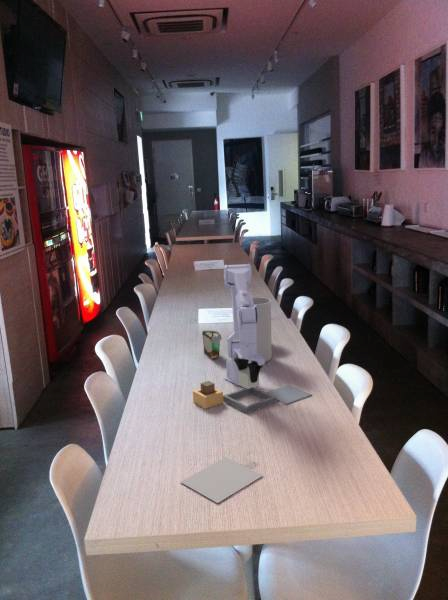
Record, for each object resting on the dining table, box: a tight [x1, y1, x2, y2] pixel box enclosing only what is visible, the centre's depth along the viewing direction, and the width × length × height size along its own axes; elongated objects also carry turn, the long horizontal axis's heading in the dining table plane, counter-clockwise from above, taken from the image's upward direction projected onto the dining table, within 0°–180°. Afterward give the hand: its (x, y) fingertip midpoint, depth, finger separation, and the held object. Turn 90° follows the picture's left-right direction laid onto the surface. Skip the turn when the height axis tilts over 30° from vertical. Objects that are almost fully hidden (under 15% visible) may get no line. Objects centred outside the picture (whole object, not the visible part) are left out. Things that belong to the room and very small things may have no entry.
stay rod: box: [200, 380, 216, 395], centre depth 193 cm, size 3×3×7 cm
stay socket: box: [192, 387, 224, 409], centre depth 193 cm, size 7×7×4 cm
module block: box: [238, 368, 260, 389], centre depth 191 cm, size 5×5×5 cm
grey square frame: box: [223, 386, 277, 414], centre depth 193 cm, size 13×13×2 cm
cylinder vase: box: [251, 296, 273, 363], centre depth 232 cm, size 12×12×25 cm
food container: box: [201, 330, 223, 361], centre depth 240 cm, size 12×6×10 cm, turn 22°
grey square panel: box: [180, 457, 264, 504], centre depth 152 cm, size 23×25×1 cm
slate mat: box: [265, 384, 312, 405], centre depth 198 cm, size 12×12×1 cm
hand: (248, 379), depth 191 cm, fingers closed on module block, 5 cm apart
